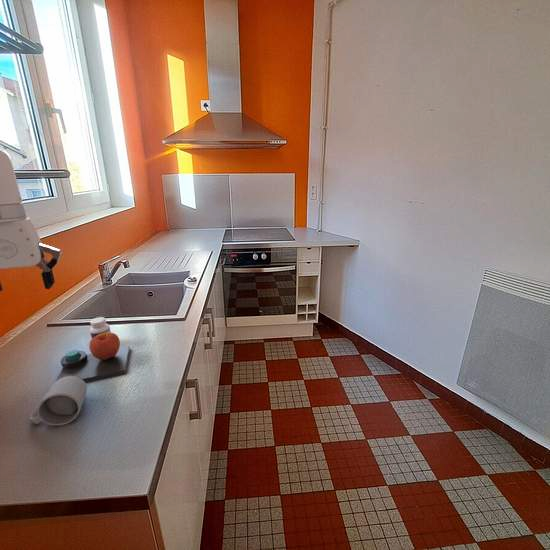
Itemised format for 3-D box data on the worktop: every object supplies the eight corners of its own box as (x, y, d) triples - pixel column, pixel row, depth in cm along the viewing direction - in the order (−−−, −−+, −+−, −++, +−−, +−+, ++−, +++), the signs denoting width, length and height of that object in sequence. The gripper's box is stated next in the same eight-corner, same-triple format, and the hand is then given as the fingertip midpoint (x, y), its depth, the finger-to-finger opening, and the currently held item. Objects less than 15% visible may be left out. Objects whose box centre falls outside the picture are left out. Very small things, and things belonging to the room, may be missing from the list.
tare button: (65, 362, 81) (64, 357, 80) (69, 356, 84) (67, 351, 83) (78, 360, 82) (77, 354, 81) (81, 354, 84) (79, 348, 84)
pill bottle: (91, 346, 93) (84, 321, 90) (107, 339, 97) (101, 314, 94) (99, 352, 90) (92, 325, 87) (116, 344, 94) (110, 318, 91)
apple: (110, 348, 89) (104, 324, 87) (128, 352, 86) (122, 328, 84) (87, 362, 83) (80, 336, 80) (106, 367, 80) (99, 342, 77)
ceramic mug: (91, 394, 72) (83, 368, 70) (83, 419, 65) (74, 391, 63) (40, 407, 69) (29, 380, 67) (25, 435, 62) (13, 405, 59)
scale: (53, 390, 75) (49, 380, 74) (67, 362, 85) (64, 353, 84) (125, 374, 80) (123, 364, 79) (130, 350, 90) (128, 341, 89)
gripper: (-65, 217, 56) (-35, 301, 62) (45, 213, 62) (64, 290, 67) (-41, 212, 63) (-16, 288, 68) (56, 209, 68) (72, 280, 74)
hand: (24, 289), depth 68 cm, fingers open, 9 cm apart
